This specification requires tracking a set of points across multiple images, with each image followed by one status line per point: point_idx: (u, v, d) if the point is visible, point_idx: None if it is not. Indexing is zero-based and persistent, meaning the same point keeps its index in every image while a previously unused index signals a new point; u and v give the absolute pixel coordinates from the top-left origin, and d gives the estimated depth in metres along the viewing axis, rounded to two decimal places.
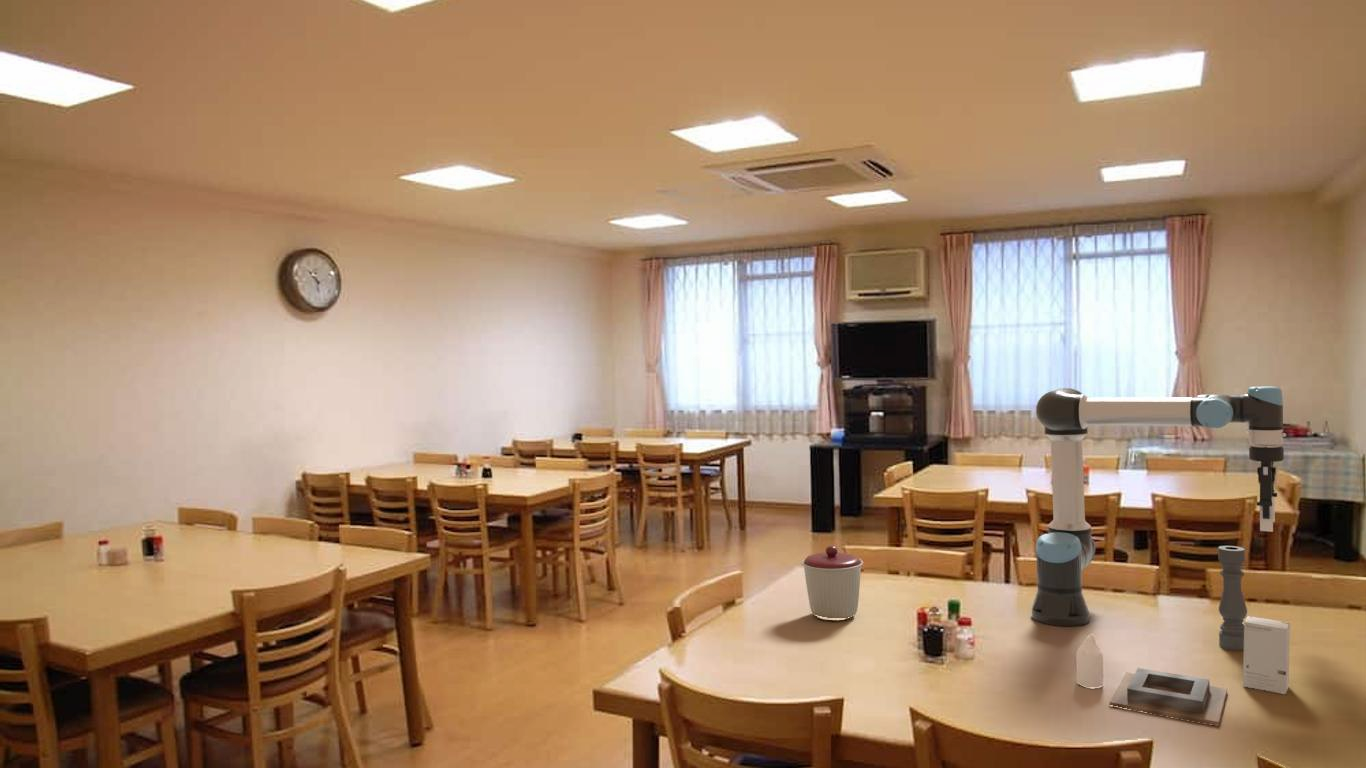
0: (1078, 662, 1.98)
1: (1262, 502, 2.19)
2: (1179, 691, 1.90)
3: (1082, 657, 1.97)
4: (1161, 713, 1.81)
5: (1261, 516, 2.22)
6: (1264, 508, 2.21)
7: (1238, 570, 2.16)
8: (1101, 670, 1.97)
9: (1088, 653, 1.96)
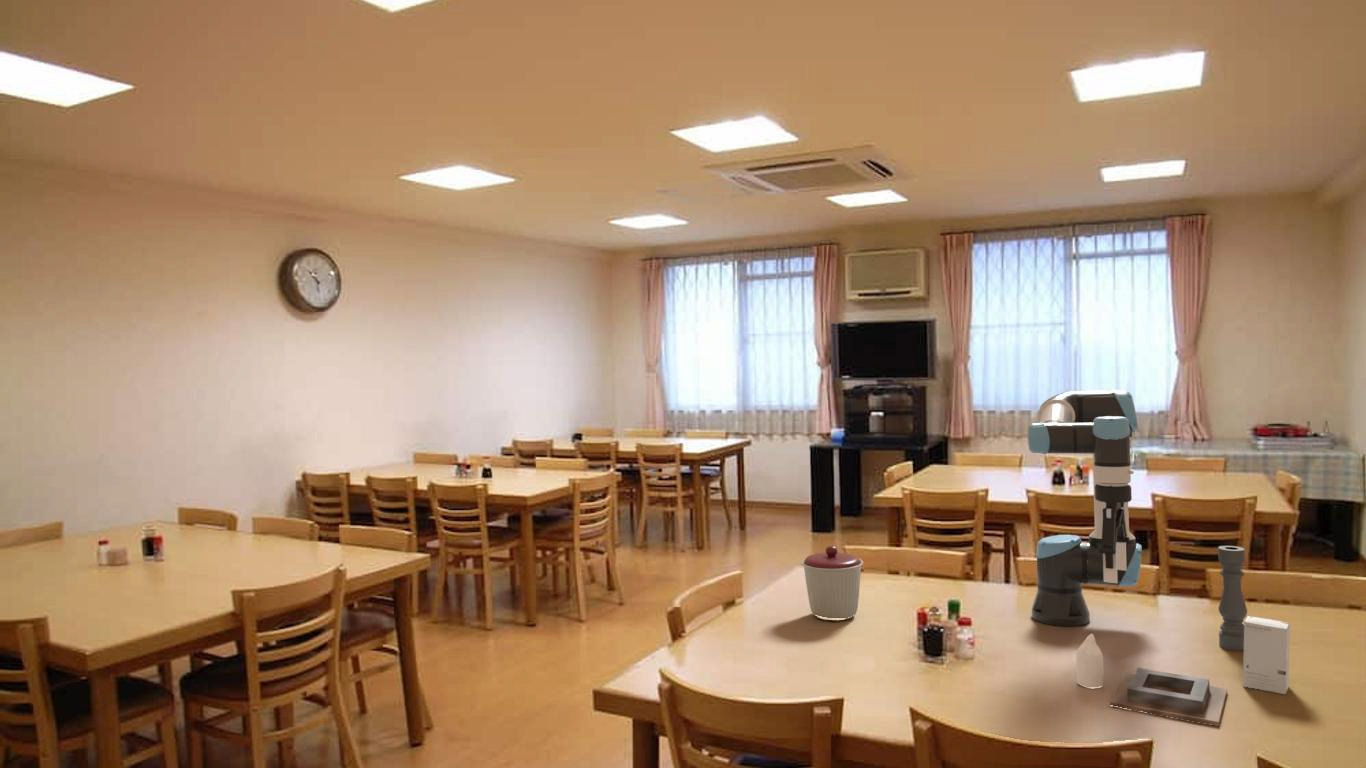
0: (1078, 662, 1.98)
1: (1104, 549, 1.92)
2: (1179, 691, 1.90)
3: (1082, 657, 1.97)
4: (1161, 713, 1.81)
5: (1104, 565, 1.94)
6: (1107, 556, 1.93)
7: (1238, 570, 2.16)
8: (1101, 670, 1.97)
9: (1088, 653, 1.96)
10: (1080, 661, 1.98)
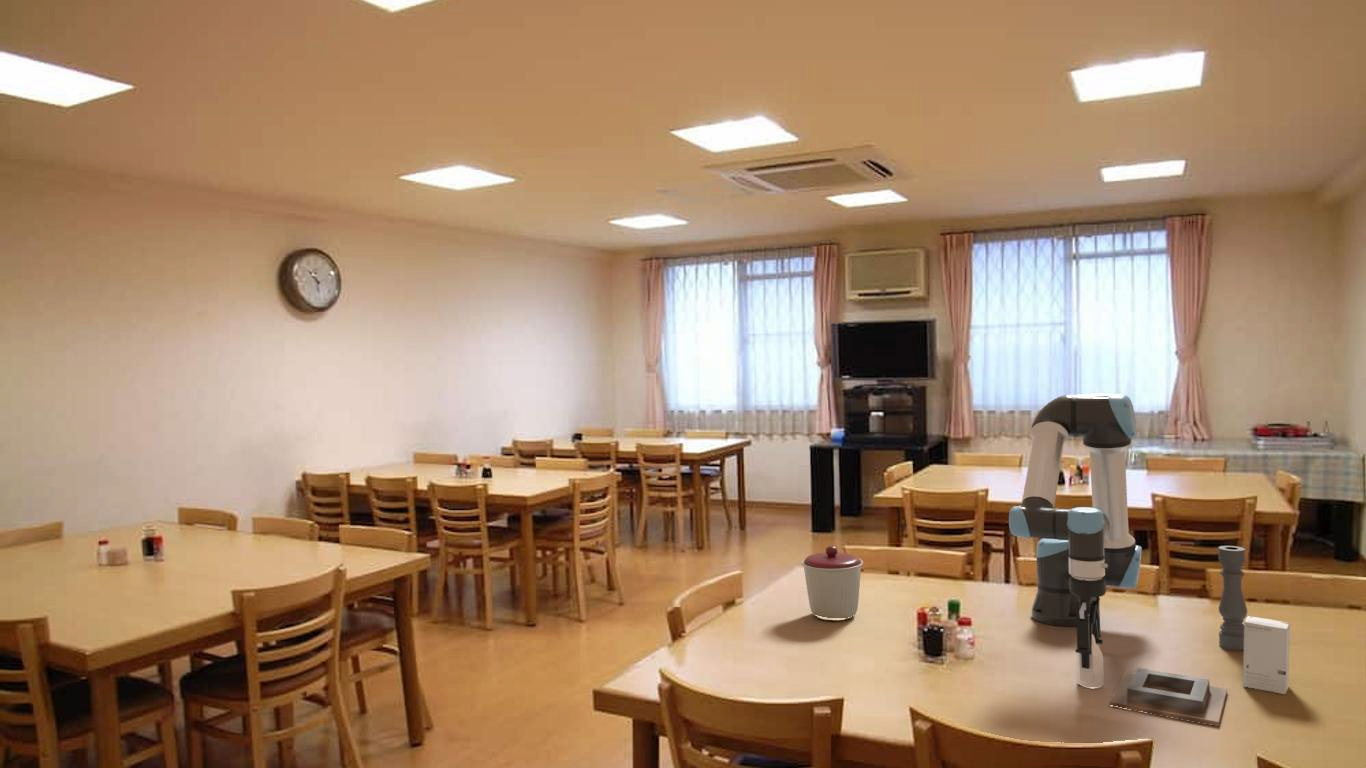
0: (1078, 662, 1.98)
1: (1079, 650, 1.94)
2: (1179, 691, 1.90)
3: None
4: (1161, 713, 1.81)
5: (1081, 664, 1.96)
6: (1083, 656, 1.95)
7: (1238, 570, 2.16)
8: (1101, 670, 1.97)
9: None
10: None
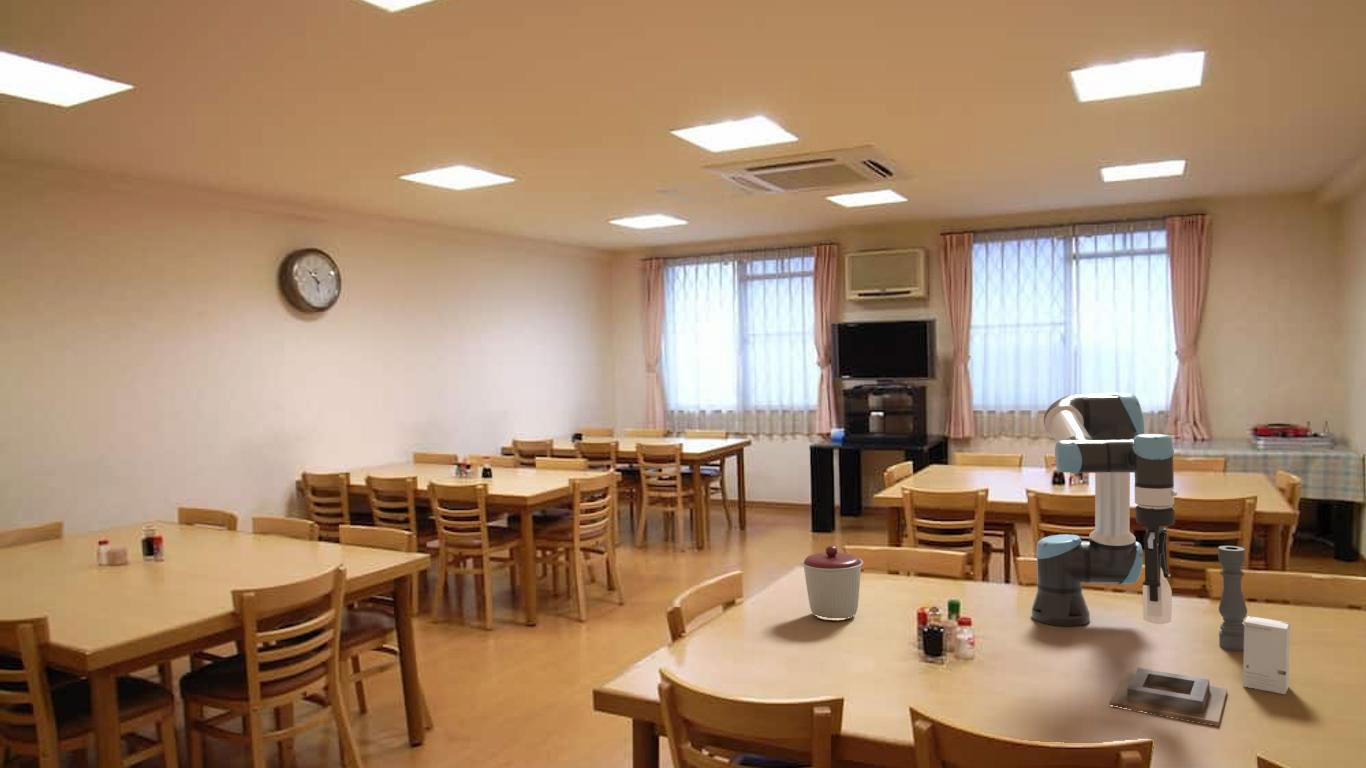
0: (1145, 596, 1.88)
1: (1148, 582, 1.84)
2: (1179, 691, 1.90)
3: None
4: (1161, 713, 1.81)
5: (1149, 597, 1.86)
6: (1151, 589, 1.85)
7: (1238, 570, 2.16)
8: (1170, 604, 1.87)
9: None
10: None
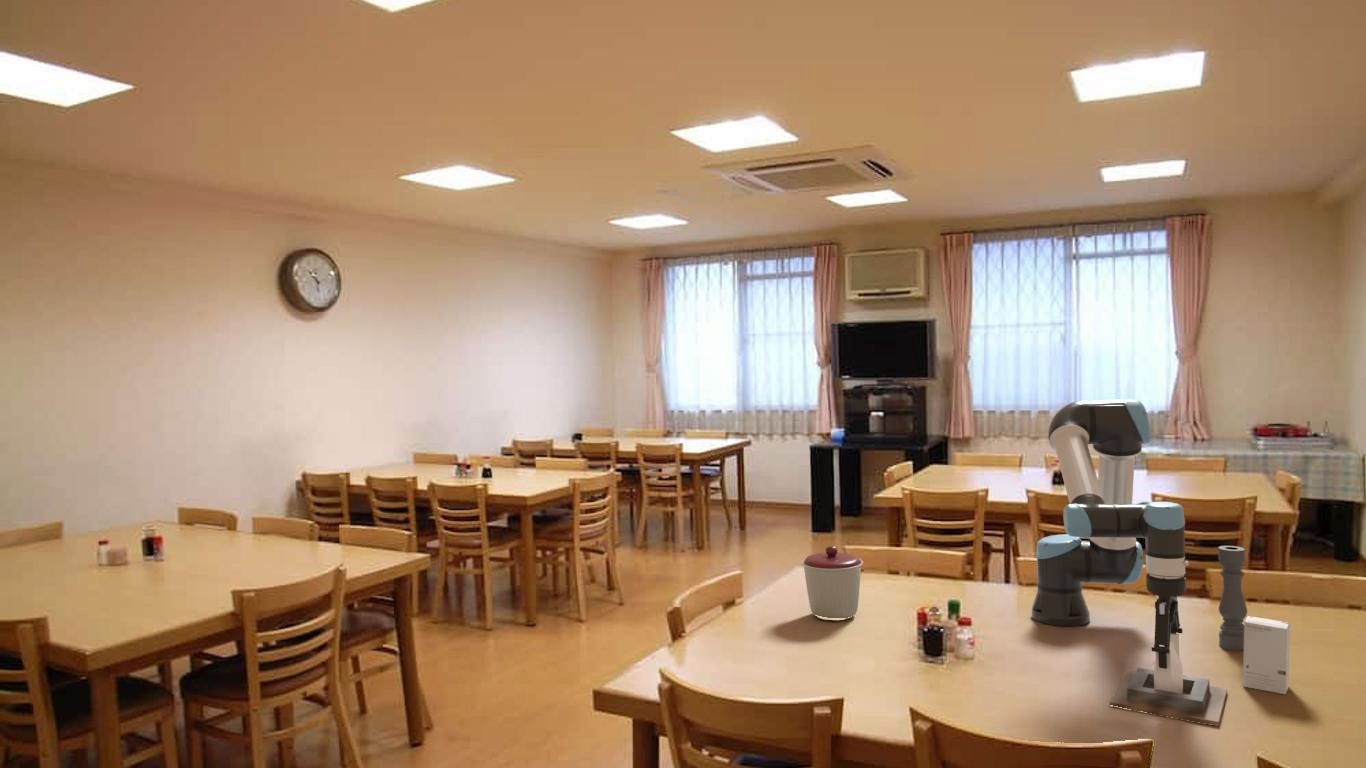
0: None
1: (1157, 649, 1.81)
2: None
3: None
4: (1161, 713, 1.81)
5: (1157, 664, 1.83)
6: (1160, 655, 1.82)
7: (1238, 570, 2.16)
8: (1181, 679, 1.87)
9: None
10: None
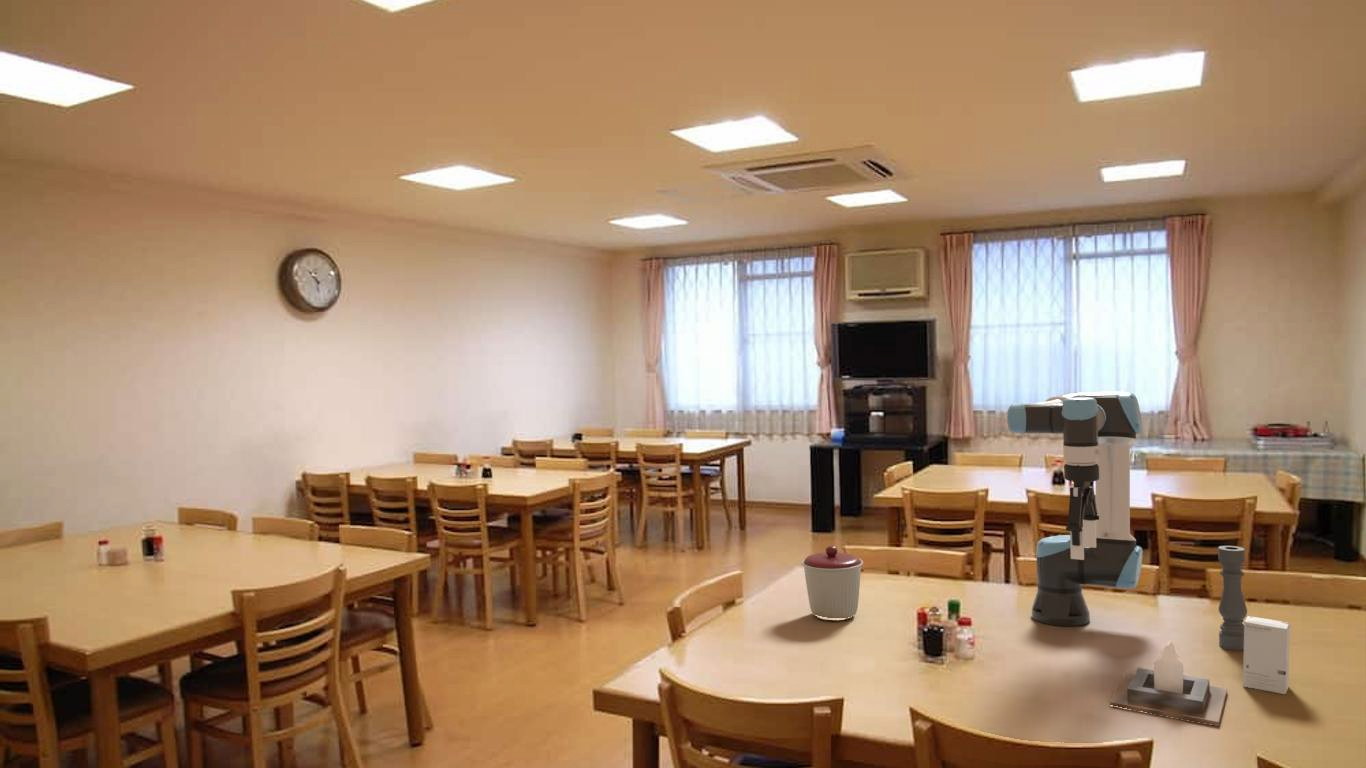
0: (1156, 671, 1.88)
1: (1070, 527, 1.97)
2: None
3: (1162, 666, 1.87)
4: (1161, 713, 1.81)
5: (1071, 542, 2.00)
6: (1073, 534, 1.98)
7: (1238, 570, 2.16)
8: (1181, 680, 1.87)
9: (1167, 661, 1.86)
10: (1159, 670, 1.88)
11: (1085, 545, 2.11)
